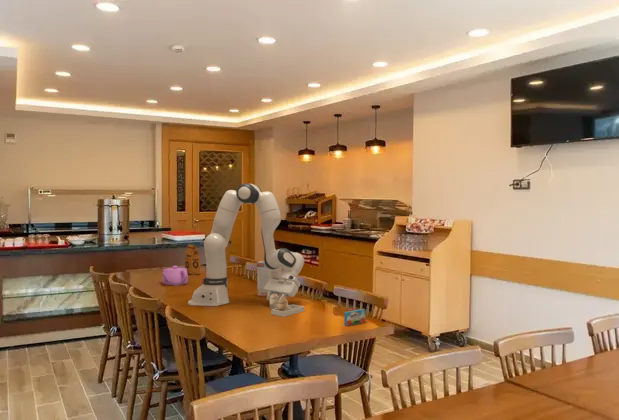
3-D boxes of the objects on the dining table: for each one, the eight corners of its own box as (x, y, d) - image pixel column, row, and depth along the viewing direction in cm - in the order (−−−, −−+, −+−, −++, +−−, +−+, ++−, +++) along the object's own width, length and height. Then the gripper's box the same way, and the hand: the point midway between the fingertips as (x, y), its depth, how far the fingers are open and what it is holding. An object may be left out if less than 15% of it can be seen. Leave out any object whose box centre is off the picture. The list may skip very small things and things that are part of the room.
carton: (283, 318, 248) (283, 311, 248) (271, 315, 253) (271, 309, 253) (304, 312, 260) (304, 306, 260) (292, 310, 266) (292, 304, 266)
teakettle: (188, 285, 335) (188, 267, 335) (161, 286, 331) (161, 267, 331) (188, 281, 352) (187, 263, 351) (162, 282, 348) (162, 264, 347)
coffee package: (189, 275, 377) (189, 246, 376) (183, 273, 387) (183, 244, 386) (202, 274, 382) (202, 245, 382) (196, 272, 393) (195, 243, 392)
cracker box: (282, 296, 301) (283, 261, 301) (279, 298, 296) (279, 262, 295) (261, 294, 306) (261, 260, 305) (257, 296, 300) (257, 261, 300)
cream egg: (269, 310, 265) (269, 294, 265) (269, 308, 270) (269, 293, 270) (279, 309, 266) (279, 294, 266) (278, 307, 271) (278, 292, 271)
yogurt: (346, 326, 234) (346, 312, 234) (344, 325, 235) (344, 312, 235) (365, 322, 241) (365, 309, 241) (363, 321, 242) (363, 308, 242)
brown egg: (278, 315, 251) (278, 299, 251) (277, 313, 256) (277, 297, 256) (288, 315, 252) (288, 299, 252) (287, 312, 257) (287, 297, 257)
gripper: (269, 273, 280) (256, 294, 272) (297, 277, 267) (284, 299, 259) (274, 280, 283) (262, 301, 276) (303, 285, 270) (290, 306, 263)
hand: (273, 300), depth 268 cm, fingers open, 6 cm apart
